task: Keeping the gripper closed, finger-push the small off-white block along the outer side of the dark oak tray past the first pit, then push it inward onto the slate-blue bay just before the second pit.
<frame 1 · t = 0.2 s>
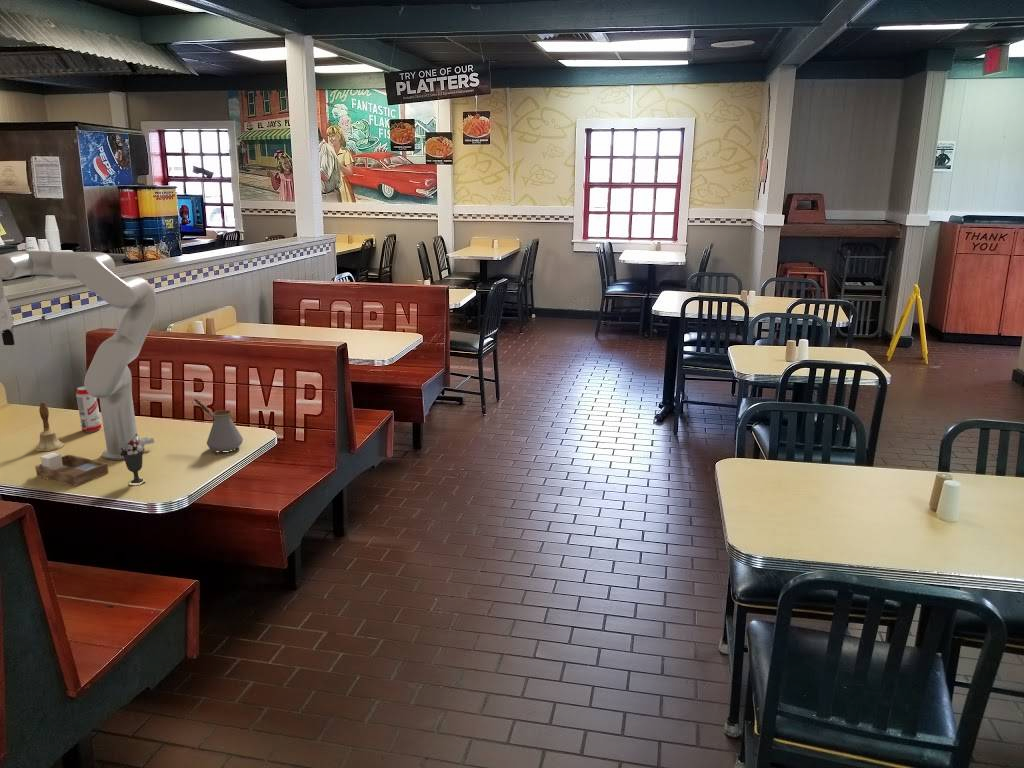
hand: (0, 348, 241), 37 cm above the table, tool pointing down, fingers open, 9 cm apart
sundae: (137, 483, 232), on the table
tray: (72, 474, 238), on the table
block: (52, 467, 237), point 2 cm above the table, touching tray
coffee pot: (217, 446, 262), on the table
beer can: (92, 430, 276), on the table
bay: (87, 473, 238), resting in tray
hand bell: (49, 448, 260), on the table
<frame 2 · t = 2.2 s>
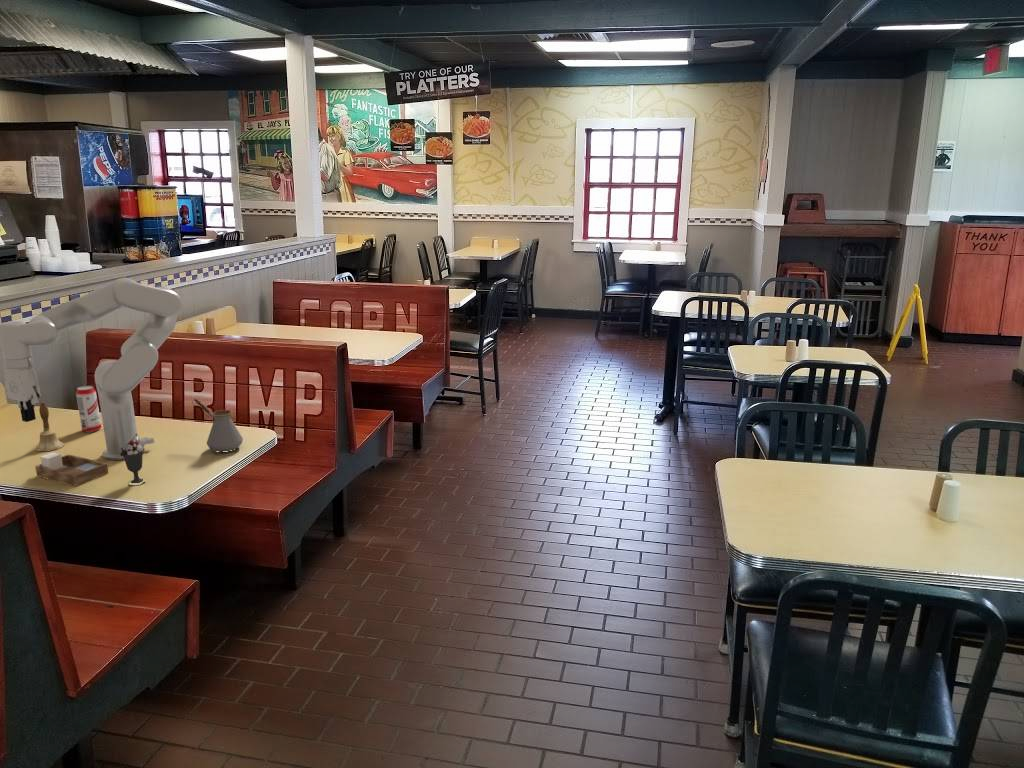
hand: (29, 420, 236), 17 cm above the table, tool pointing down, fingers closed
nothing on the table moved.
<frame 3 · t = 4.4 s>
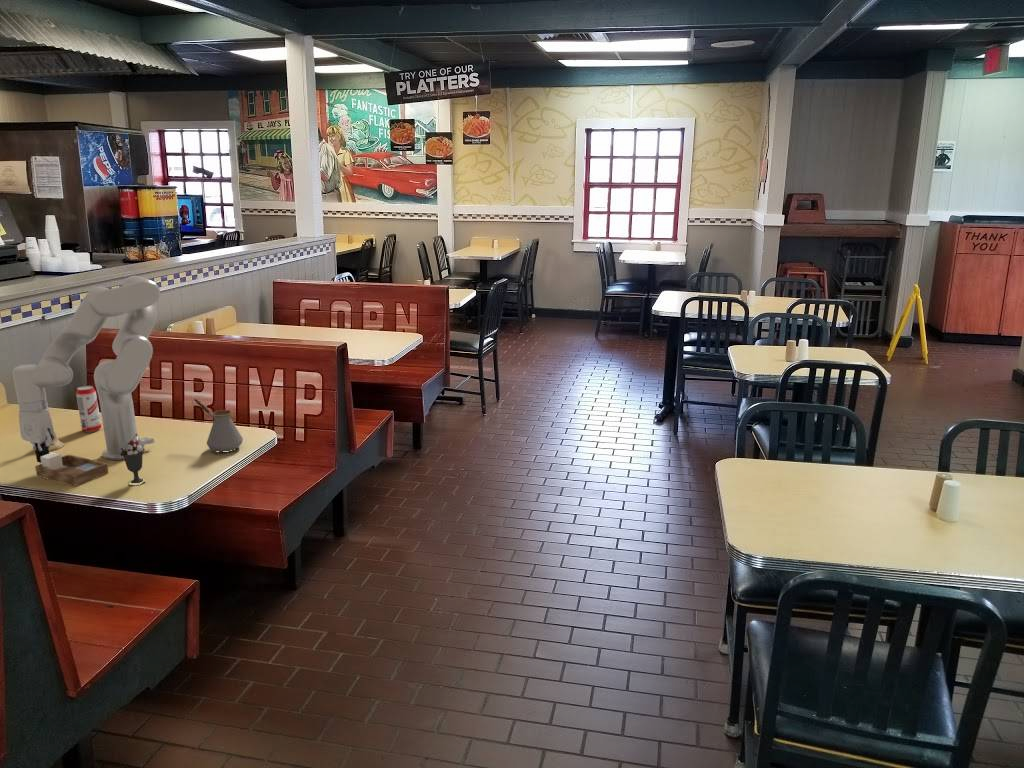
hand: (43, 461, 238), 4 cm above the table, tool pointing down, fingers closed
block: (52, 467, 237), point 2 cm above the table, touching gripper
everything else where it was.
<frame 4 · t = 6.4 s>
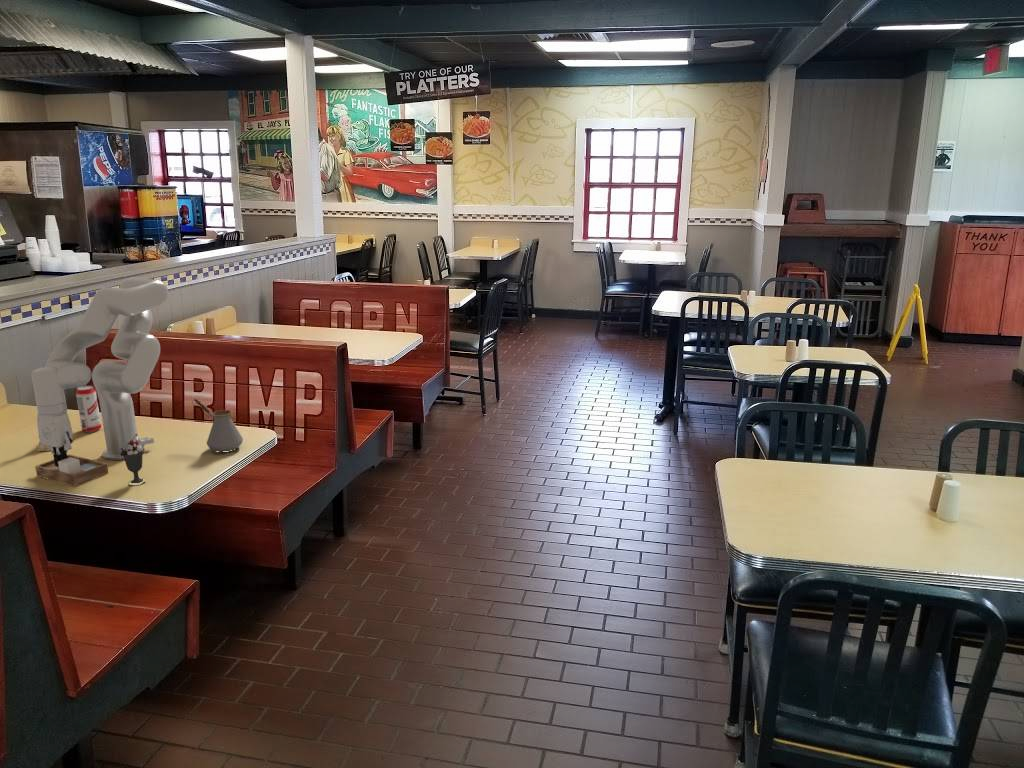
hand: (61, 465, 234), 4 cm above the table, tool pointing down, fingers closed
block: (70, 472, 233), point 2 cm above the table, touching gripper, tray
everything else where it was.
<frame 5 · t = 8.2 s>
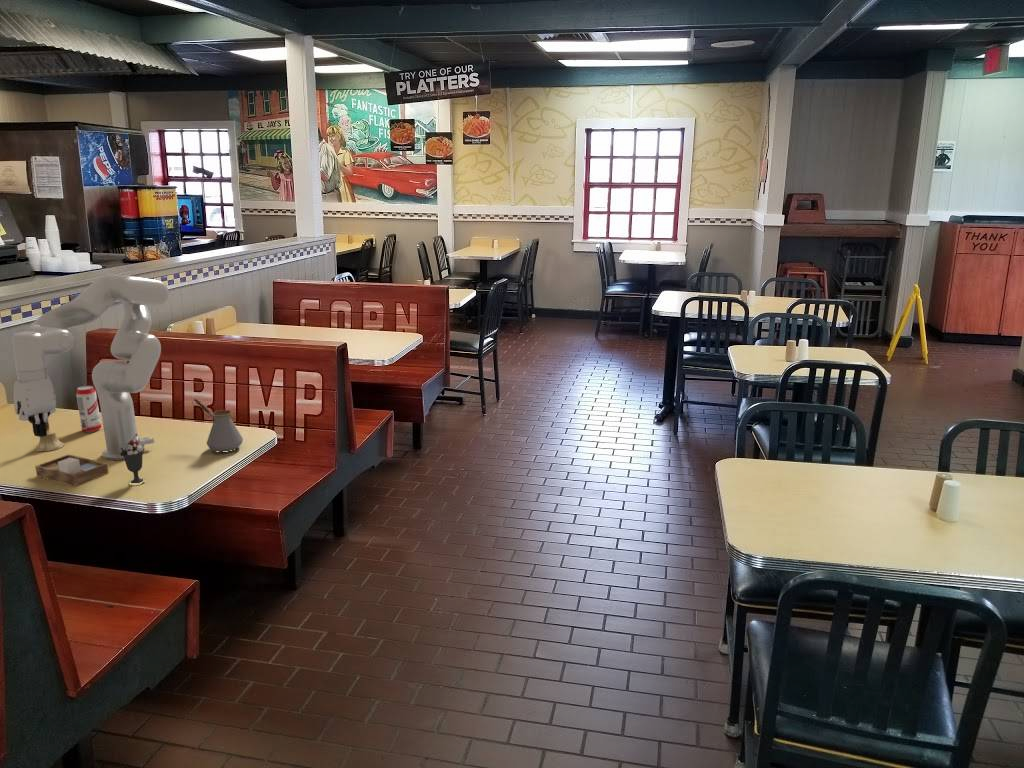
hand: (40, 435, 225), 16 cm above the table, tool pointing down, fingers closed
block: (70, 472, 233), point 2 cm above the table, touching tray
everything else where it was.
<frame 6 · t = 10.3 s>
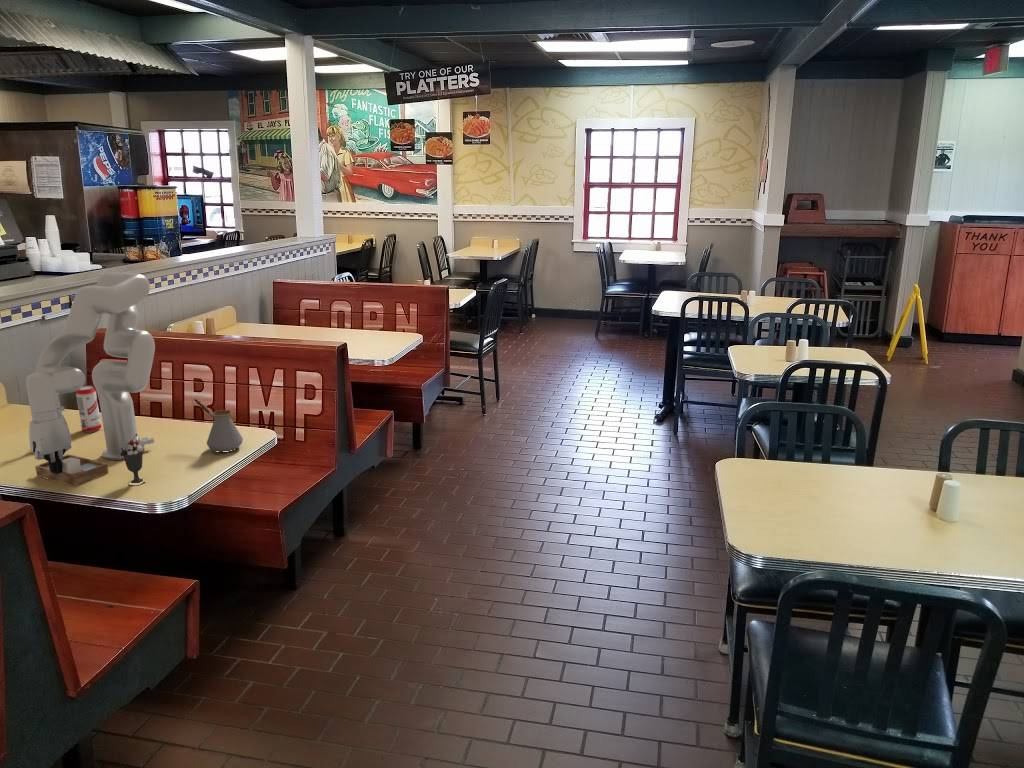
hand: (57, 472, 230), 4 cm above the table, tool pointing down, fingers closed
block: (70, 472, 233), point 2 cm above the table, touching gripper, tray
everything else where it was.
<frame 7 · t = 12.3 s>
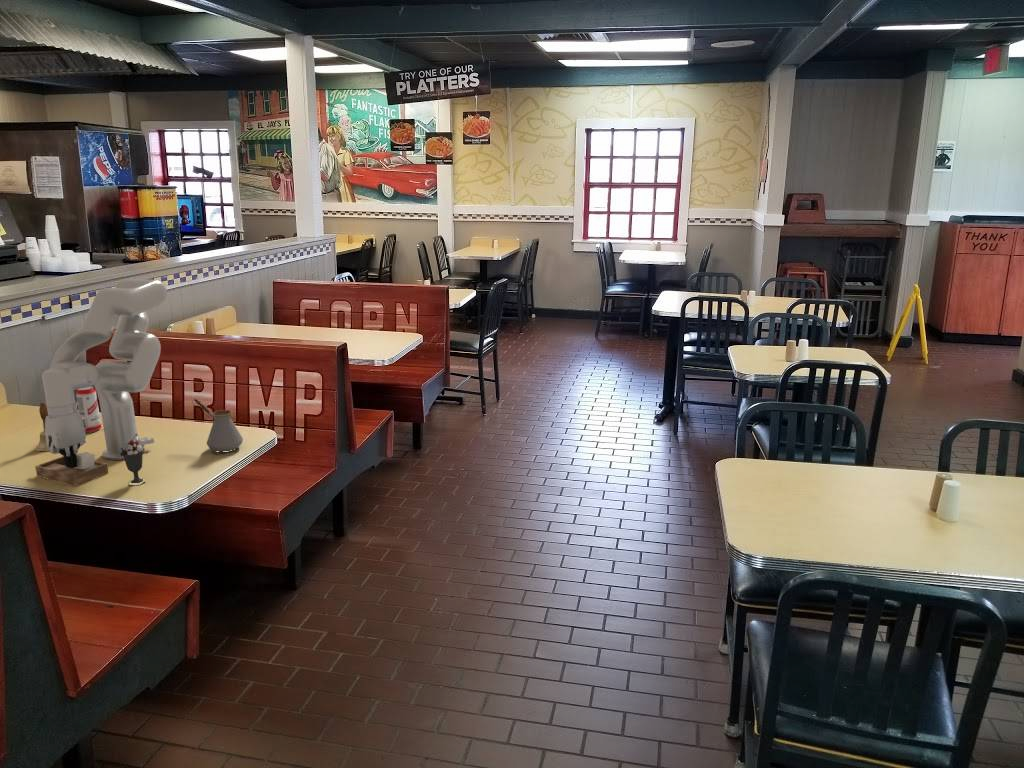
hand: (71, 466, 234), 4 cm above the table, tool pointing down, fingers closed
block: (84, 467, 237), point 2 cm above the table, tilted 8°, touching bay, gripper
everything else where it was.
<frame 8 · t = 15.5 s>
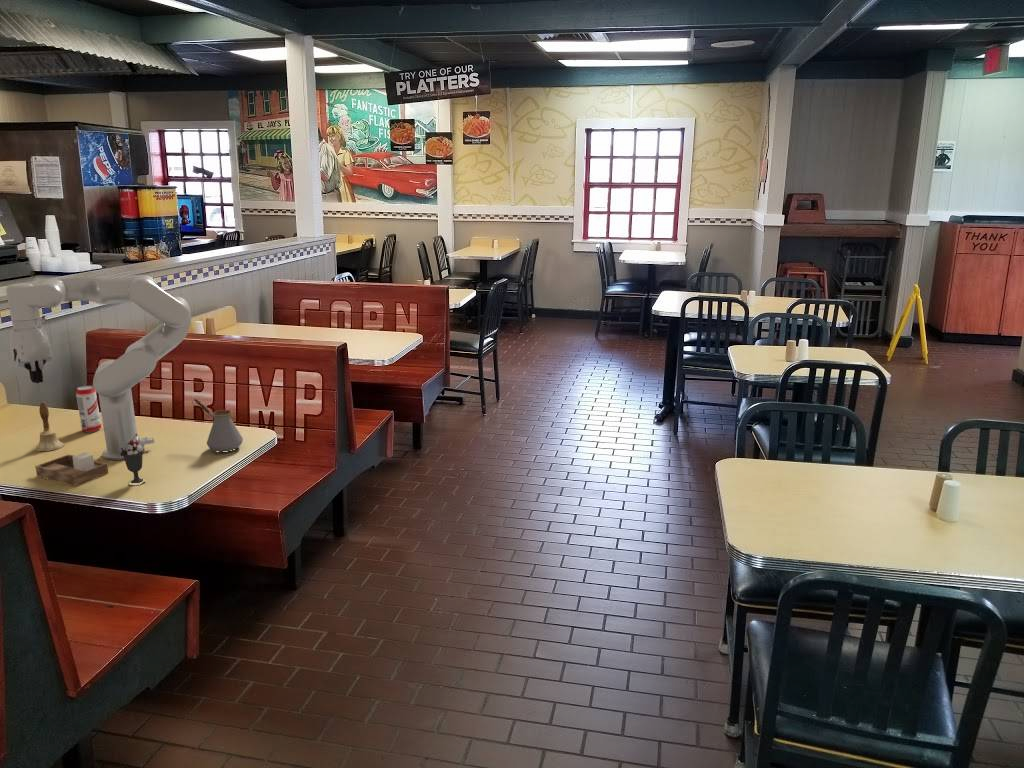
hand: (37, 381, 239), 27 cm above the table, tool pointing down, fingers closed
block: (84, 467, 237), point 2 cm above the table, touching bay, tray
everything else where it was.
at the end: block 0.8 cm from the bay (horizontally); block point 2.2 cm above the table; block tilted 0° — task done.
